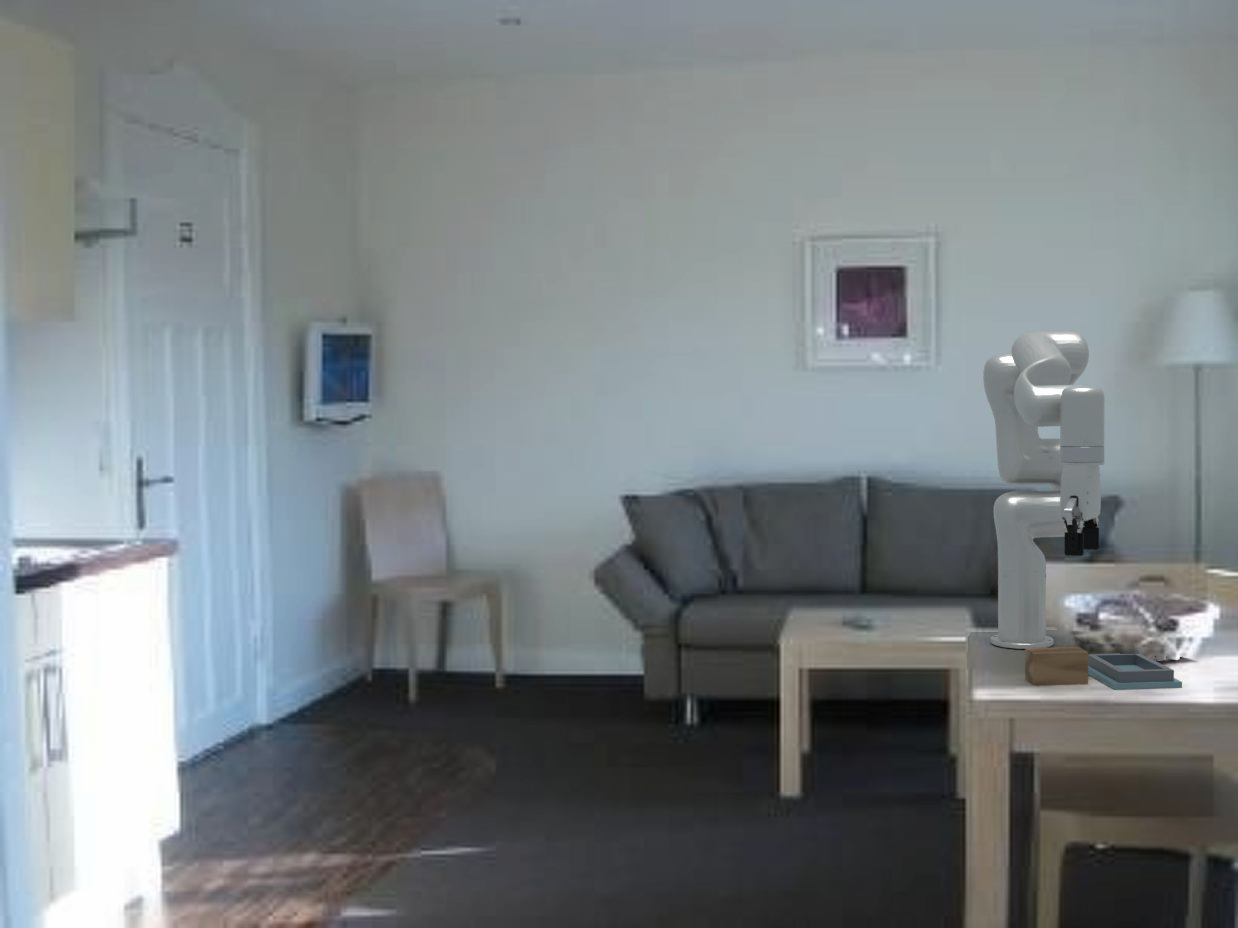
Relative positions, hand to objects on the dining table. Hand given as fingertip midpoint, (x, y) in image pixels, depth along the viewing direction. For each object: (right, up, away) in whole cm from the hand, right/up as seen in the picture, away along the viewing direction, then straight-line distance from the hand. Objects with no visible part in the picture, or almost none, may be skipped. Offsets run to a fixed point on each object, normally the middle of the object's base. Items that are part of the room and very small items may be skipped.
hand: (1082, 552), depth 266 cm
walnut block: (-2, -24, +7) cm, 26 cm away
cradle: (+11, -24, +9) cm, 28 cm away
